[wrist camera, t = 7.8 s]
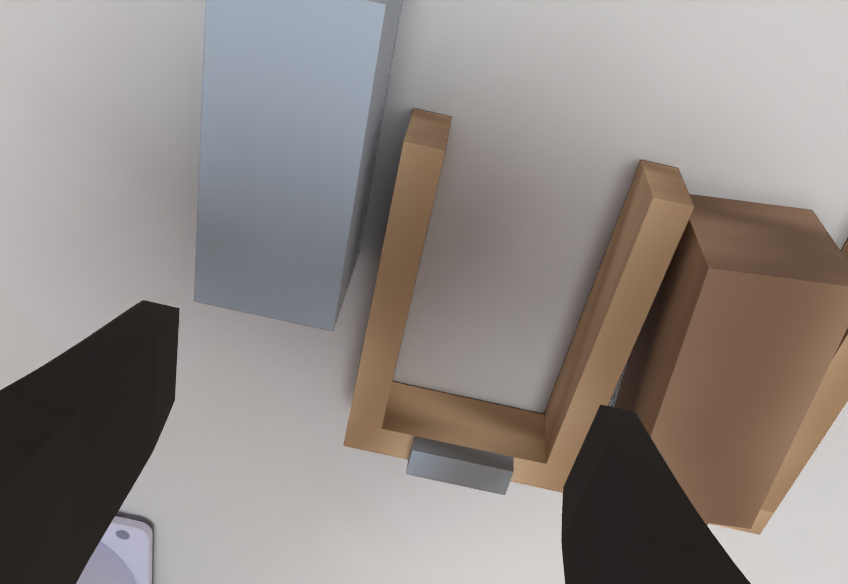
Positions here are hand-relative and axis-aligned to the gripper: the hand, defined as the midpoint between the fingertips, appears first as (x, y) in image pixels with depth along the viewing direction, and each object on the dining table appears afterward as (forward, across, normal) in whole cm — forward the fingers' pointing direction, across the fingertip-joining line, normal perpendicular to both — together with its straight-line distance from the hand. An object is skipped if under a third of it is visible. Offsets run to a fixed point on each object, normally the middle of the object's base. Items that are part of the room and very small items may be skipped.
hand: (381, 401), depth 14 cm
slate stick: (+10, +3, -1) cm, 10 cm away
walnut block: (+10, -9, +3) cm, 13 cm away
